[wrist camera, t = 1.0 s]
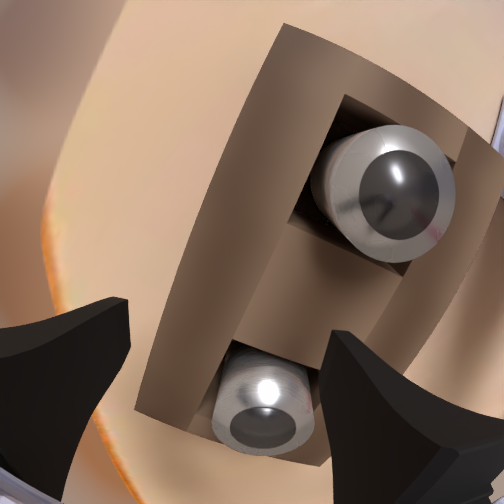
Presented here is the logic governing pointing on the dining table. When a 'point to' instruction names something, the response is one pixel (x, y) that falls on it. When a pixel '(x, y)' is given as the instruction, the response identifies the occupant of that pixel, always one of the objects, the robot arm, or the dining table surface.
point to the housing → (307, 239)
